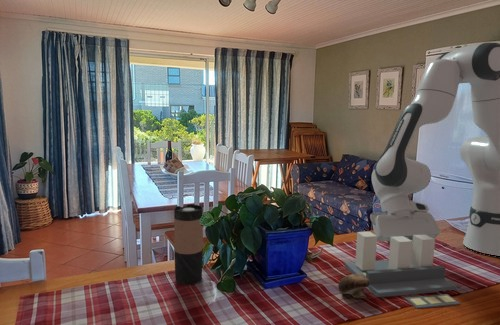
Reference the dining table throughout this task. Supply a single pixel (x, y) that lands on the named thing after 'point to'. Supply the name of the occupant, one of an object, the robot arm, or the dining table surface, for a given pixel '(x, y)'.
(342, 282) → the mushroom
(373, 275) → the board
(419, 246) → the key
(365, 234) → the key
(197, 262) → the travel mug
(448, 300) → the card
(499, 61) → the robot arm
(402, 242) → the middle key
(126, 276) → the dining table surface
